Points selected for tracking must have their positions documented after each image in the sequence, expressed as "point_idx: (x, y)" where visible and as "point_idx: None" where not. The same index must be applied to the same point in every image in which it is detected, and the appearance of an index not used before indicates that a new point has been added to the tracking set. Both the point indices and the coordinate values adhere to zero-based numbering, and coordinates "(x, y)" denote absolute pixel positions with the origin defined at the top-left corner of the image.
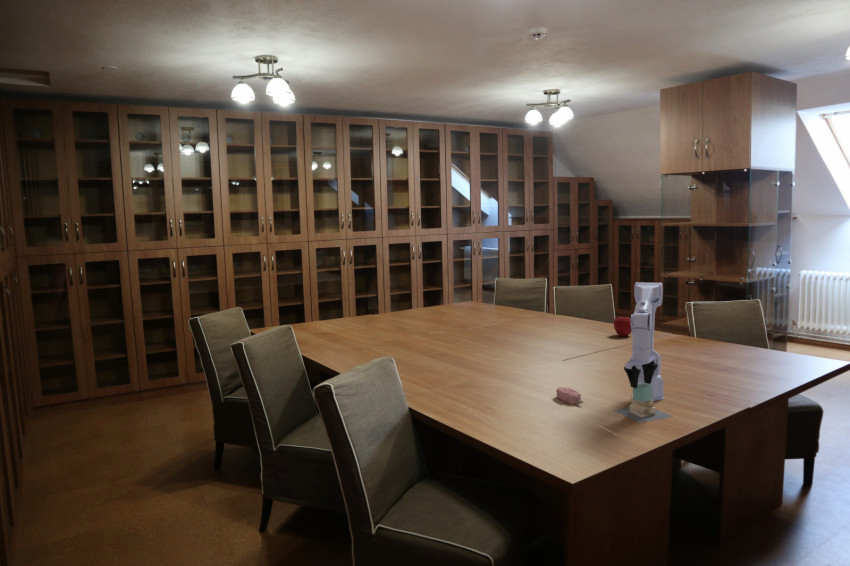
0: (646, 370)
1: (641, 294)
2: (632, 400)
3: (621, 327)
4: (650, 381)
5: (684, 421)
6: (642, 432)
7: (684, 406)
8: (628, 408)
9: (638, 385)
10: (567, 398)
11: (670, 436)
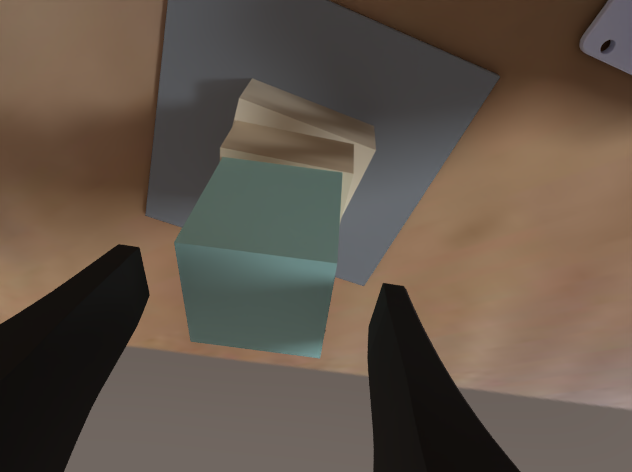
0: (396, 461)
1: None
2: (223, 149)
3: None
4: (371, 357)
5: (341, 325)
6: (71, 262)
7: (595, 265)
8: (323, 22)
9: (220, 284)
10: None
11: (143, 337)
